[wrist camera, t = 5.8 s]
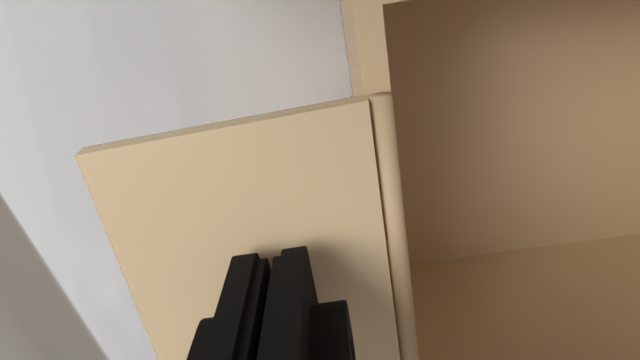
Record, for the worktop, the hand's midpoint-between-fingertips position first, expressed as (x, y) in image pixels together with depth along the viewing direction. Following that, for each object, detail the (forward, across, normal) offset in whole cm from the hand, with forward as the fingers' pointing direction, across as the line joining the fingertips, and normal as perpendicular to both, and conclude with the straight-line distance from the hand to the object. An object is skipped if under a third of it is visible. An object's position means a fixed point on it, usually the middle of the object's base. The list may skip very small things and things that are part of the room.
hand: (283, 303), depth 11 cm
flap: (+1, -3, 0) cm, 3 cm away
